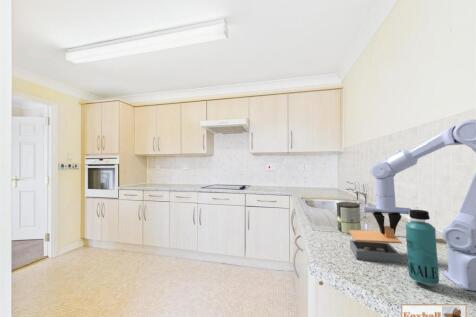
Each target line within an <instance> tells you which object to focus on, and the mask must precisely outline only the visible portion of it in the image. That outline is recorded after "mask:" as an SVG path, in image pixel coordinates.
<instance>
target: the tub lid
mask: <svg viewBox="0 0 476 317" xmlns="http://www.w3.org/2000/svg"><path fill="white" fill-rule="evenodd" d="M384 229H385V234H382V233H381V232H380V230H349V233H350V234H351V236H350V237H352V239H353V240H354V241H357V242H377V243H389V244H402V243H403V242H402V241H401V240H400V239H399V238H397V237H396V236H395V235H394V229H392V228H391V227H390V225H387V224H384Z"/></svg>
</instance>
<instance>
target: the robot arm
mask: <svg viewBox="0 0 476 317" xmlns="http://www.w3.org/2000/svg"><path fill="white" fill-rule="evenodd" d="M460 145H464V146H467V147H468V148H470V149H471V150H472V151H473V152H474V153H475V154H476V119H467V120H464V121H462V122H460V123H458V124H457V125H456V126H455V125H453V126H450V127H448V128H447V129H445V130H443V131H442V132H440V133H438V134H436V135H435V136H434V137H432V138H430V139H428V140H426V141H425V142H423V143H421V144H420V145H417V146H416V147H415V148H412V149H411V150H408V149H404V150H397V151H396V152H395V154H394V155H391V157H388V158H384V159H382V162H380V161H378V162H375V163H373V165H371V168H370V174H372V176H373V178H374V189H375V190H374V191H375V201H376V202H375V204H376V205H375V206H362V213H364V214H368V213H369V214H372V215H373V217H374V219H375V220H376V223H377V225H378V227H379V231H380V232H381V233H382V234H385V229H384V225H385V215H384V214H387V216H388V220H389V226H390V227H391V228H392V229H394V236H395V235H396V230H397V227H398V224H399V223H400V220H402V215H410V210H412V208H410V207H397V205H396V193H395V179H394V177H395V176H396V174H398V173H401V172H402V171H405V170H407V169H409V168H412V167H413V166H416V165H417V164H418V161H419V159H420V158H423V157H425V156H427V155H430V154H432V153H434V152H436V151H438V150H441V149H442V148H445V147H447V146H460ZM442 238H443V241H444V242H445V243H446V254H447V255H446V257H447V270H440V273H441V274H443V275H444V276H445V277H447V278H448V279H449V280H450V281H452V282H453V283H454V284H456V285H457V286H458V287H460V288H461V289H463V290H466V291H475V292H476V171H475V172H474V174H473V177H472V179H471V181H470V185H469V187H468V189H467V191H466V194H465V196H464V198H463V202H462V204H461V206H460V209H459V211H458V213H457V214H456V216H455V217H454V218H453V220H452V222H451V224H450V225H449V226H447V227H445V228H444V229H443V231H442Z"/></svg>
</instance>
